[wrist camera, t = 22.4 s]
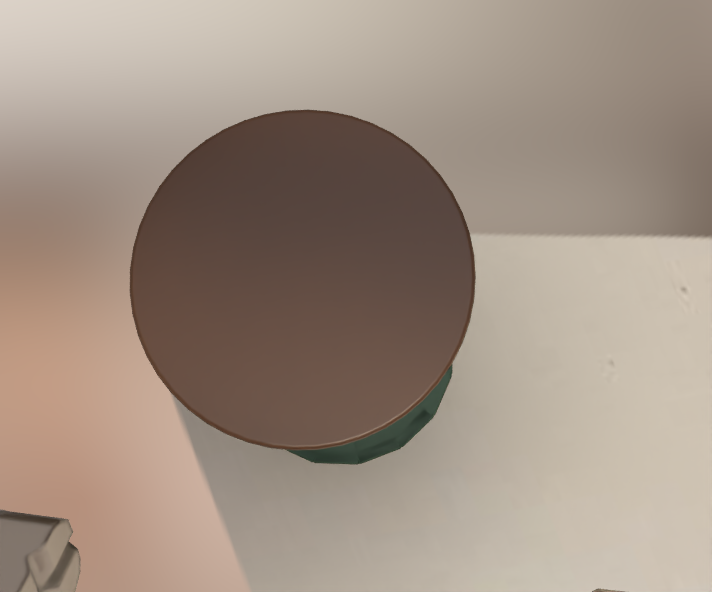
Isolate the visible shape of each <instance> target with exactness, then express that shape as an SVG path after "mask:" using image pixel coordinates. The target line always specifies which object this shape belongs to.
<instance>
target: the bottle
mask: <svg viewBox="0 0 712 592" xmlns="http://www.w3.org/2000/svg"><path fill="white" fill-rule="evenodd" d="M451 375H452V365H451V366H450V367H449V369H448V370H447V372H446V373H445V375H444V376H443V378H442V379H441V381H440V382H439V383H438V385H437V386H436V387H435V388H434V389H433V390H432V391H431V392H430V393H429V395H428V396H427V397H426V398H425V399H424V400H423V401H422V402H421V403H420V404H418V405H417V406H416V407H415V408H414V409H413V410H411V411H410V412H409V413H408V414H407V415H405V416H404V417H402V418H401V419H399V420H398V421H396V422H395V423H393V424H392V425H390V426H388V427H387V428H385V429H383V430H381V431H379V432H377V433H375V434H372V435H370V436H368V437H366V438H364V439H361V440H357V441H354V442H351V443H348V444H345V445H341V446H336V447H330V448H324V449H318V450H287V451H289V452H291V453H293V454H295V455H298V456H300V457H302V458H304V459H306V460H308V461H310V462H314V463H329V464H362V463H364V462H367V461H370V460H372V459H375V458H377V457H380V456H382V455H385V454H388V453H390V452H393V451H395V450H398V449H400V448H401V447H403V446H404V445H405V444H406V443H407V442H409V441H410V440H411V439H412V438H413V437H414V436H415V435H416V434H417V433H418V432H419V431H420V430H421V429H422V428H423V427H424V426H425V425H426V424H427V423H428V422H429V421H430V420H431V419H432V418H433V417H434V415H435V414H436V412H437V409H438V407H439V405H440V402H441V400H442V398H443V395H444V393H445V391H446V388H447V386H448V384H449V381H450V379H451ZM285 450H286V449H285Z"/></svg>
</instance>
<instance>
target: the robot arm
mask: <svg viewBox="0 0 712 592" xmlns="http://www.w3.org/2000/svg"><path fill="white" fill-rule="evenodd" d="M72 533H73V531H72V528H71V525H70V523H69V520H68V519H62V518H55V517H47V516H39V515H31V514H24V513H17V512H9V511H5V510H0V592H75V590H76V586H77V582H78V578H79V574H80V556H79V552H78V549H77V548H76V547H75V546H74V545H72V544H71V543H70V542H69V539H70V537H71V535H72ZM592 592H624V591H615V590H606V589H596V590H594V591H592Z"/></svg>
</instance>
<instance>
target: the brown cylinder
mask: <svg viewBox="0 0 712 592" xmlns="http://www.w3.org/2000/svg"><path fill="white" fill-rule="evenodd" d="M475 279H476V276H475V261H474V252H473V247H472V242H471V237H470V233H469V230H468V227H467V224H466V221H465V219H464V216H463V213H462V211H461V209H460V207H459V205H458V203H457V201H456V199H455V197H454V195H453V193H452V191H451V190H450V189H449V187H448V186H447V184H446V183H445V181H444V180H443V178H442V177H441V175H440V174H439V173H438V172H437V171H436V170H435V169H434V167H433V166H432V165H431V164H430V163H429V162H428V161H427V160H426V159H425V158H424V157H423V156H422V155H421V154H420V153H418V152H417V151H416V150H415V149H414V148H413V147H412V146H410V145H409V144H408V143H406V142H405V141H403V140H402V139H400V138H399V137H397V136H396V135H394V134H393V133H391V132H389V131H387V130H385V129H383V128H380V127H378V126H377V125H375V124H373V123H370V122H367V121H364V120H361V119H358V118H355V117H353V116H348V115H344V114H339V113H334V112H329V111H317V110H292V111H282V112H276V113H270V114H265V115H261V116H258V117H254V118H251V119H248V120H244V121H242V122H240V123H238V124H235V125H233V126H231V127H228V128H226V129H224V130H222V131H221V132H219V133H217V134H216V135H214V136H212V137H210V138H209V139H207V140H205V142H203V143H202V144H200V145H199V146H198V147H197V148H195V149H194V150H193V151H191V152H190V153H189V154H188V155H187V156H186V157H185V158H184V159H183V160H182V161H181V162H180V163H179V164H178V165H177V166H176V167H175V168H174V169H173V170H172V171H171V172H170V174H169V175H168V176H167V177H166V179H165V180H164V182H163V183H162V184H161V185H160V186H159V188H158V190H157V192H156V193H155V195H154V197H153V198H152V200H151V202H150V203H149V205H148V207H147V210H146V212H145V214H144V217H143V219H142V221H141V224H140V226H139V229H138V233H137V236H136V240H135V243H134V247H133V253H132V261H131V267H130V297H131V305H132V314H133V317H134V321H135V325H136V329H137V333H138V336H139V339H140V341H141V344H142V346H143V349H144V351H145V353H146V356H147V358H148V359H149V361H150V363H151V365H152V366H153V368H154V370H155V372H156V373H157V375H158V376H159V378H160V379H161V380H162V381H163V383H164V384H165V385H166V387H167V388H168V389H169V391H170V392H171V393H172V394H173V395H174V396H175V397H176V398H177V399H178V400H179V401H180V402H181V403H182V404H183V405H184V406H185V407H186V408H187V409H188V410H189V411H191V412H192V413H193V414H195V415H196V416H198V417H199V418H200V419H202V420H203V421H204V422H206V423H207V424H209V425H211V426H213V427H214V428H216V429H218V430H220V431H222V432H223V433H225V434H227V435H230V436H232V437H235V438H238V439H240V440H243V441H245V442H248V443H252V444H256V445H260V446H265V447H269V448H276V449H286V450H318V449H324V448H330V447H336V446H341V445H345V444H348V443H351V442H354V441H357V440H361V439H364V438H366V437H368V436H370V435H372V434H375V433H377V432H379V431H381V430H383V429H385V428H387V427H388V426H390V425H392V424H393V423H395V422H396V421H398V420H399V419H401V418H402V417H404V416H405V415H407V414H408V413H409V412H410V411H411V410H413V409H414V408H415V407H416V406H417V405H418V404H420V403H421V402H422V401H423V400H424V399H425V398H426V397H427V396H428V395H429V393H430V392H431V391H432V390H433V389H434V388H435V387H436V386H437V385H438V383H439V382H440V381H441V379H442V378H443V376H444V375H445V373H446V372H447V370H448V369H449V367H450V366H451V365H452V363H453V361H454V359H455V357H456V355H457V353H458V351H459V349H460V347H461V345H462V343H463V340H464V337H465V334H466V331H467V328H468V325H469V322H470V318H471V313H472V308H473V303H474V294H475Z"/></svg>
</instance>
